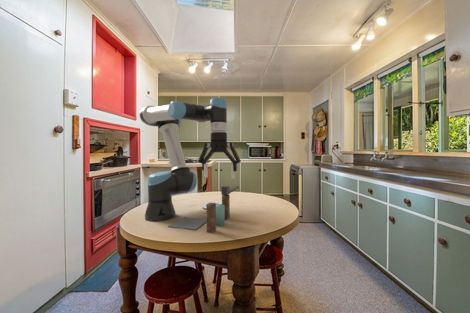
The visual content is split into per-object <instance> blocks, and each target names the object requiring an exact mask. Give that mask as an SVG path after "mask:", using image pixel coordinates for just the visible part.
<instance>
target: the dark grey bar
mask: <svg viewBox="0 0 470 313" xmlns="http://www.w3.org/2000/svg"><path fill="white" fill-rule="evenodd" d="M220 188H221V191H220V192H221V196H222V195H230V194H231V193H233V192H235V191H236V190H238V189H239V188H240V185H235V186H233V187H231V188H230V185H222V186H221V187H220Z"/></svg>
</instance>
